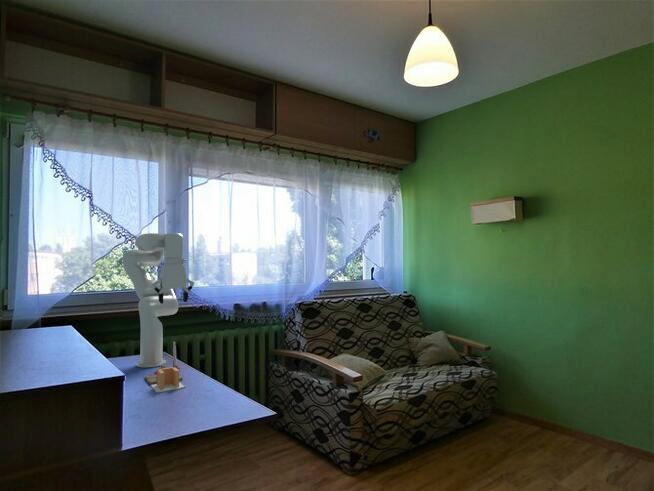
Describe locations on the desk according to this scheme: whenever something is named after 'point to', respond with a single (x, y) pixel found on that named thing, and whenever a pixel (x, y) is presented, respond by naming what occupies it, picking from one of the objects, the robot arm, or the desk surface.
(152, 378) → the stand
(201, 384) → the desk surface
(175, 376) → the c link
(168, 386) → the pad
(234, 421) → the desk surface
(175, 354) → the tow hook
